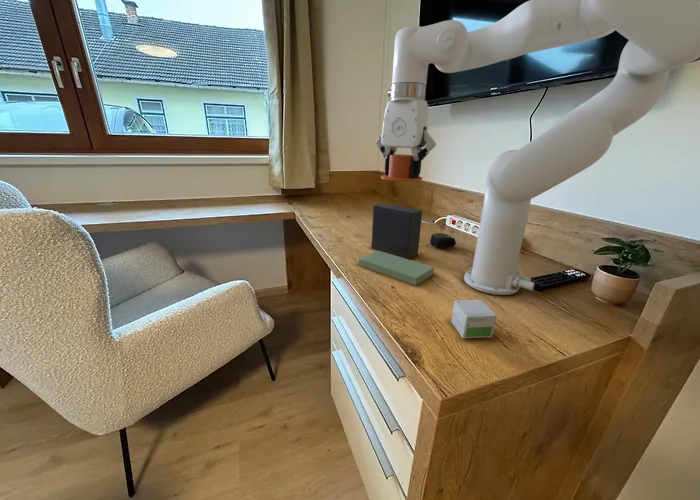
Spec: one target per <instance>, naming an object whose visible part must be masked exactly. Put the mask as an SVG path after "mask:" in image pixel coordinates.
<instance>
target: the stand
mask: <svg viewBox="0 0 700 500" xmlns="http://www.w3.org/2000/svg"><path fill="white" fill-rule="evenodd" d="M358 266H360V267H363V268H365V269H369V270H371V271H373V272H377V273H380V274H382V275H385V276H388V277H391V278H394V279H396V280H399V281H402V282H405V283H408V284H411V285H413V286H417V285H419V284H421V283H423V282H424V281H425V280H426V279H429V278H430V277H431V276H433V275H434V269H435V267H434V266H430V265H428V264H424V263H420V262H417V261H414V260H411V259H405V258H402V257H399V256H396V255H392V254H389V253H386V252H382V251H379V250H376V251H374V252H371V253H369V254H367V255H364V256H361V257H359V258H358Z"/></svg>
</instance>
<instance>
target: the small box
mask: <svg viewBox="0 0 700 500" xmlns="http://www.w3.org/2000/svg"><path fill="white" fill-rule="evenodd" d="M451 314H452V315H451V323H452V325H453V327H454V328H455V329H456V331H457V332H458V334H459V335H460V337H461V338H462V339H464V340H465V339H480V338H481V339H482V338H493V335H494V330H495V325H496V321H497V314H496V313H495V312H494V310H492V309H491V308H490V307H489V305H488V304H487V303H485V302H484V300H483V299H472V300H471V299H468V300H466V299H465V300H454V301H453V308H452V313H451Z"/></svg>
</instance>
